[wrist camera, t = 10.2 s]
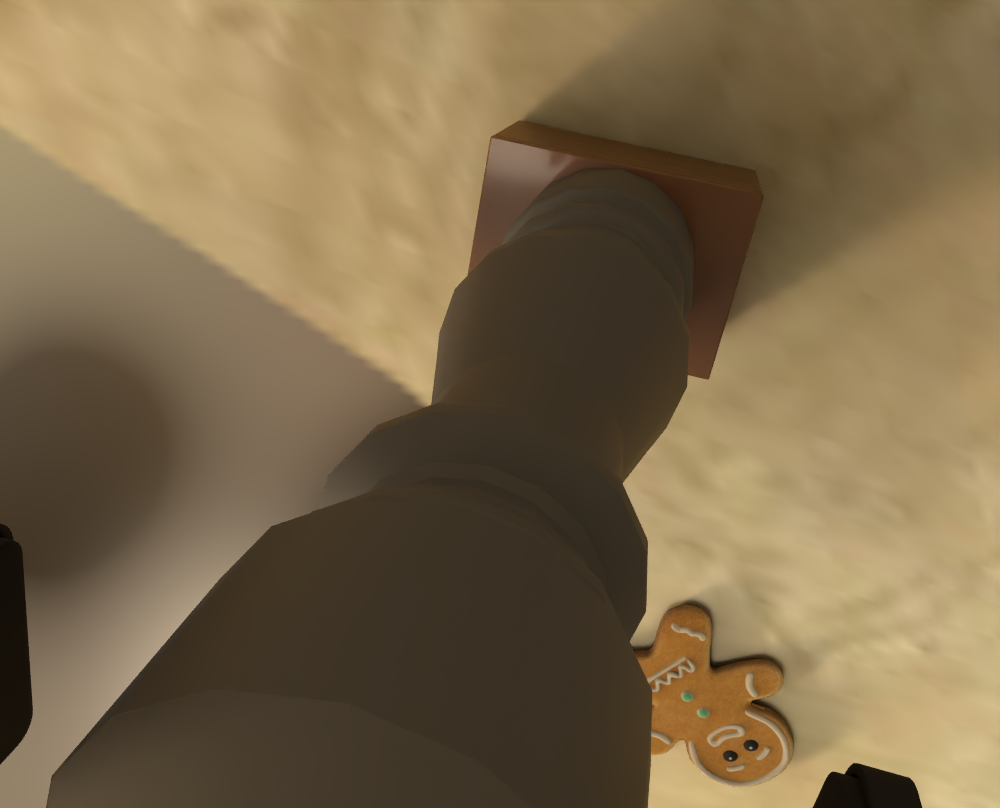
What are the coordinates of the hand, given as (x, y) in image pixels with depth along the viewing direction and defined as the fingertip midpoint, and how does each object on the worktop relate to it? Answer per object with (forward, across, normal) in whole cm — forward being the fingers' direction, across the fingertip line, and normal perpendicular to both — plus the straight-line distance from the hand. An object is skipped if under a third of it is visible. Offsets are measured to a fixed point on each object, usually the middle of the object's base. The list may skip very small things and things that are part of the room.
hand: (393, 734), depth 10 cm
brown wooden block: (+28, 0, 0) cm, 28 cm away
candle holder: (+23, 0, 0) cm, 23 cm away
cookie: (+28, -9, +21) cm, 36 cm away
